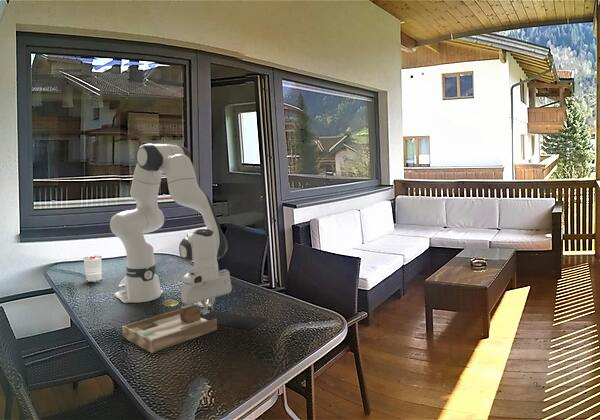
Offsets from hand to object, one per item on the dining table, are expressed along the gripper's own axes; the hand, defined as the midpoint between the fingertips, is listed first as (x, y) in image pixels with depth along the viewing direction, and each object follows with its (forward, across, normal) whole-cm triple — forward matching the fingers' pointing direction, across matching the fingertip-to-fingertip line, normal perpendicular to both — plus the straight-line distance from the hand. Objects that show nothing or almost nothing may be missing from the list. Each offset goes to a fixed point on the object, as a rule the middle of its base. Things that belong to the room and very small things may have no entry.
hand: (208, 310), depth 174 cm
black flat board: (+5, -5, +3) cm, 8 cm away
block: (+2, +8, 0) cm, 8 cm away
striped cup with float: (+4, +3, -92) cm, 92 cm away
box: (+4, +16, 0) cm, 16 cm away
